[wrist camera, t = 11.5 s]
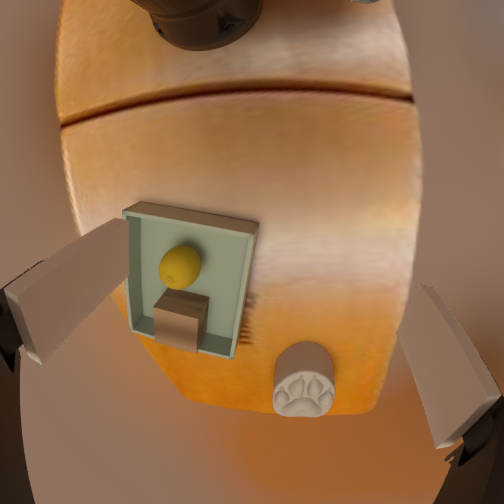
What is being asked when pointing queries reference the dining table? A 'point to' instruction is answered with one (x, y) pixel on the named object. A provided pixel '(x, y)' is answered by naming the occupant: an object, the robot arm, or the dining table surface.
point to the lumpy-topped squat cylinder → (303, 381)
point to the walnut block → (181, 319)
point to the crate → (211, 275)
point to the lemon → (179, 267)
